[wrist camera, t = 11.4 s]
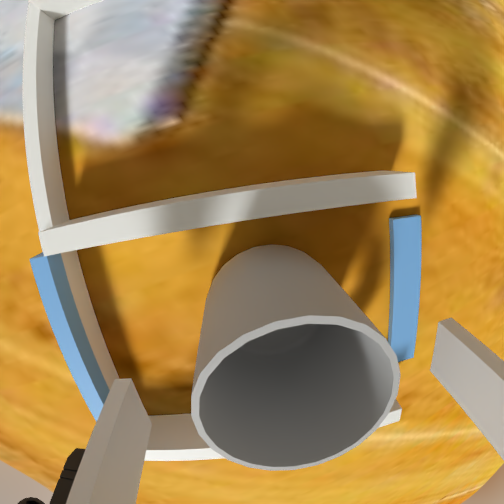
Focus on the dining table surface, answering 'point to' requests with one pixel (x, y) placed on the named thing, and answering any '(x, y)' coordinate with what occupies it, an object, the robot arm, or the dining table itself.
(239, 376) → the cup
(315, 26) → the dining table surface
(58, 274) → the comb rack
